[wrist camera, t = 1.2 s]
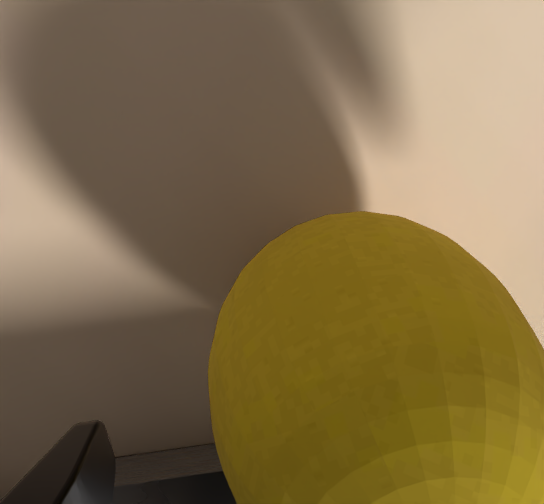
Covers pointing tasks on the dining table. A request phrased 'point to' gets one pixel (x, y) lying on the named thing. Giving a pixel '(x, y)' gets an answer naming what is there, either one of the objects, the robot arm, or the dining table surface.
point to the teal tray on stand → (172, 478)
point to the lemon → (375, 372)
